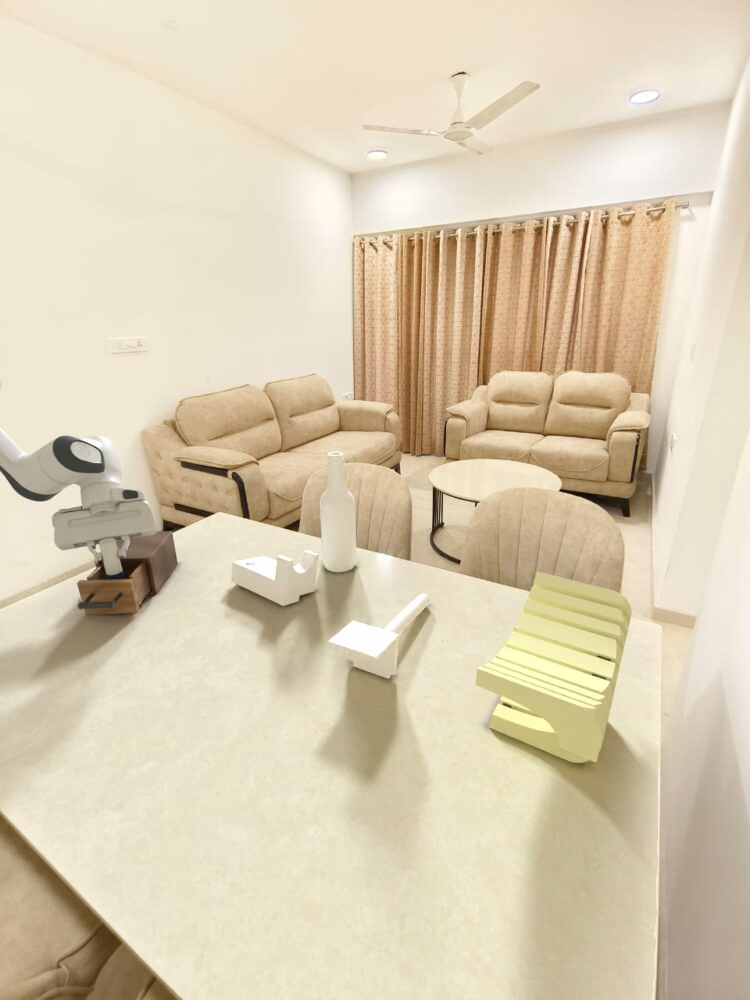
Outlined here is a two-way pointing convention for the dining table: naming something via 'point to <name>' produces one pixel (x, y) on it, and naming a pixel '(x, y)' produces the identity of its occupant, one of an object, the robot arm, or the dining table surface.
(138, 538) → the cabinet
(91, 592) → the drawer
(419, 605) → the white block on rod
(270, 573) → the white cradle stand
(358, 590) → the dining table surface
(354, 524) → the alcohol
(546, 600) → the slatted curved stool
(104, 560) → the tube
